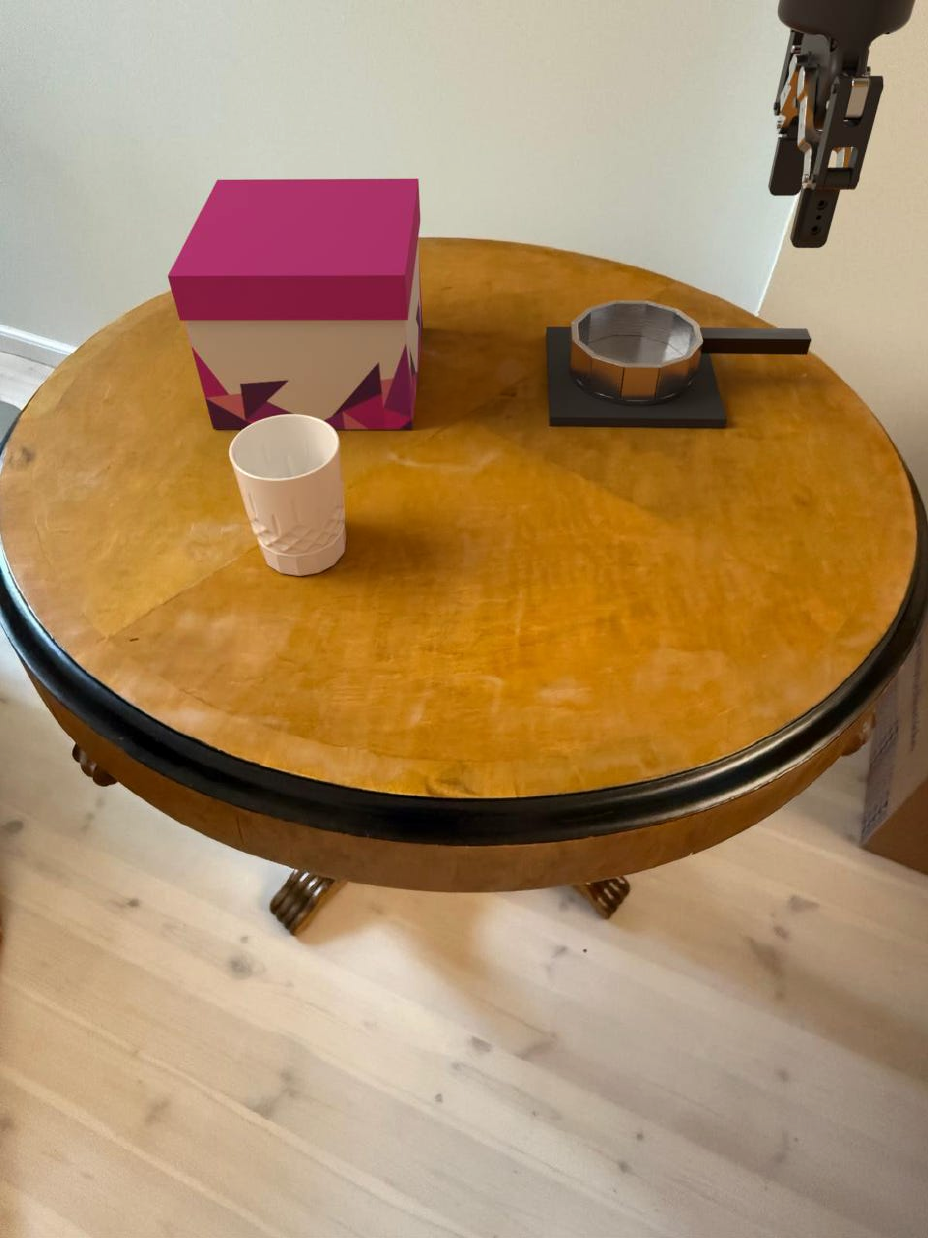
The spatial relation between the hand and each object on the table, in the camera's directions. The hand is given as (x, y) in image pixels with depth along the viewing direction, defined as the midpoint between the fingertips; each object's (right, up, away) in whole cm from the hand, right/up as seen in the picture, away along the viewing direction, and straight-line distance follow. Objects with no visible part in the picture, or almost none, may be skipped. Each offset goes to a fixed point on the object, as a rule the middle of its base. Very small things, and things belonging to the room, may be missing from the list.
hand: (794, 218), depth 62 cm
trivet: (-7, -4, +26) cm, 27 cm away
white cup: (-36, -22, +10) cm, 43 cm away
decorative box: (-36, -3, +27) cm, 46 cm away
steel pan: (-2, -4, +25) cm, 25 cm away
